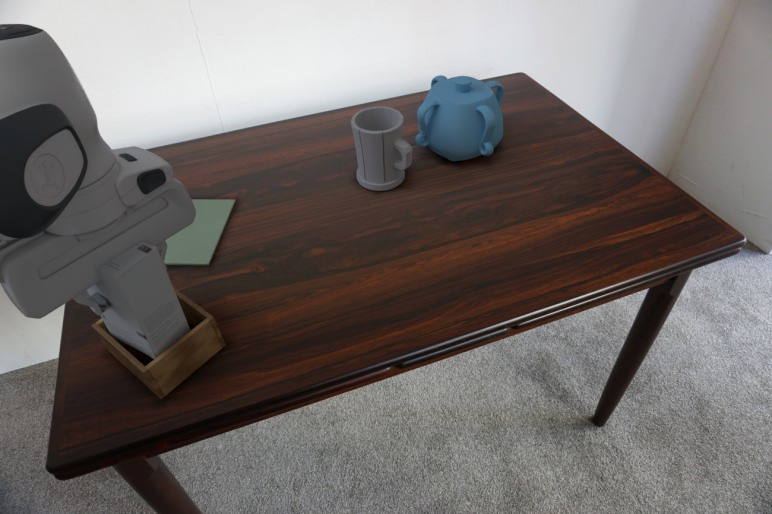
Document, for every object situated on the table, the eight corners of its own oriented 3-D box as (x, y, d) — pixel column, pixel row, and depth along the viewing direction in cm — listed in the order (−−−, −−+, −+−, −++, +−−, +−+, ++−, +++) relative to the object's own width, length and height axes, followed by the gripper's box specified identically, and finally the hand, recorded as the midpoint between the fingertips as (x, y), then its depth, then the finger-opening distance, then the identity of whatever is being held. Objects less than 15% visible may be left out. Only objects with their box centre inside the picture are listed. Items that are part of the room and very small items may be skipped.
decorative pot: (510, 132, 105) (519, 66, 95) (488, 175, 95) (496, 107, 85) (434, 118, 110) (435, 54, 101) (405, 158, 100) (404, 91, 90)
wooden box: (161, 399, 64) (143, 372, 60) (110, 353, 70) (90, 325, 66) (226, 345, 70) (213, 316, 66) (174, 305, 75) (160, 277, 71)
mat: (209, 265, 81) (208, 263, 81) (146, 264, 82) (145, 263, 81) (235, 201, 92) (235, 199, 92) (181, 200, 93) (180, 199, 93)
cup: (415, 164, 98) (415, 106, 90) (412, 194, 92) (411, 134, 83) (360, 163, 99) (354, 105, 91) (353, 192, 93) (347, 133, 84)
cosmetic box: (113, 339, 66) (57, 254, 56) (148, 307, 70) (103, 221, 60) (161, 364, 63) (112, 278, 53) (196, 328, 67) (156, 242, 57)
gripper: (-18, 267, 44) (58, 362, 54) (184, 158, 55) (217, 253, 65) (-47, 238, 47) (30, 333, 57) (150, 140, 58) (186, 233, 68)
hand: (131, 289), depth 61 cm, fingers closed on cosmetic box, 6 cm apart
